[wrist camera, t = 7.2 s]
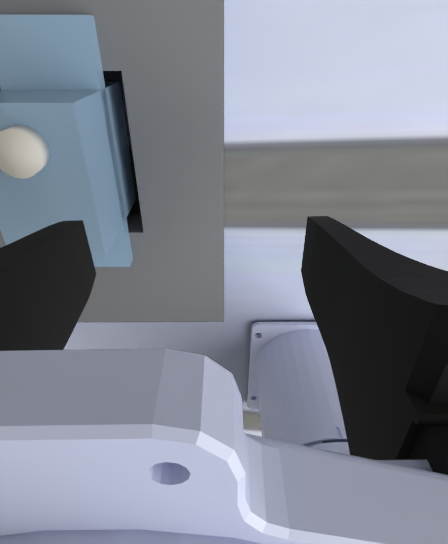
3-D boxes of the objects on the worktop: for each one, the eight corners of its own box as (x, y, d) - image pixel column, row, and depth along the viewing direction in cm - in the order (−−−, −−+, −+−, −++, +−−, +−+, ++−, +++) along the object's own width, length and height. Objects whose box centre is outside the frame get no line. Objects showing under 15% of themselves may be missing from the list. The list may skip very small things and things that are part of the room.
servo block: (141, 237, 22) (110, 315, 16) (75, 237, 22) (20, 315, 16) (110, 18, 16) (42, 8, 10) (20, 18, 16) (-105, 7, 10)
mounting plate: (223, 297, 25) (223, 321, 23) (18, 298, 25) (-1, 322, 22) (223, -124, 14) (223, -152, 12) (-149, -125, 14) (-217, -154, 11)
